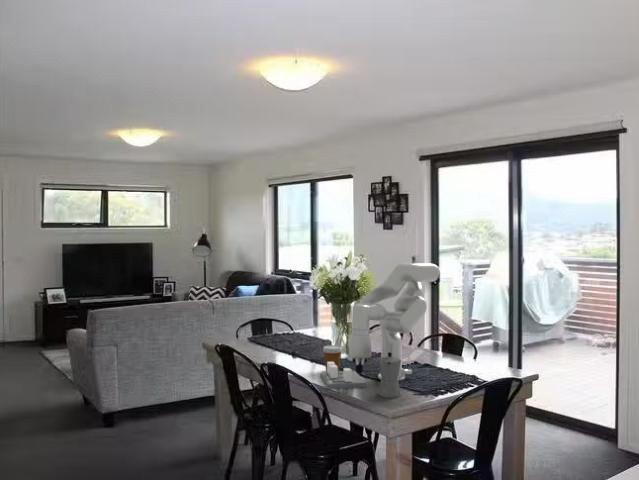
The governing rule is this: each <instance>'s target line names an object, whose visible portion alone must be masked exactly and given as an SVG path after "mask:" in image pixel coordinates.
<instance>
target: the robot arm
mask: <svg viewBox="0 0 639 480" xmlns="http://www.w3.org/2000/svg"><path fill="white" fill-rule="evenodd" d="M439 276H440V269H439V267H438V266H437V265H436V264H434V263H423V262H422V263H421V262H413V263H406V262H402V263H398V264H397V265H396V266H395V267H394V268H393V270H392V271H391V272H390V274H388V276H387V277H386V279H385V280H384V281H383V282H382V283H381V284H380V285H378V286H376V287H374V288H373V289H372V290H370V291H369V292H367V293H366V294H365V295H364V296H363V297H362V299H361V300H360V302H359V303H357V304H354V305H353V306H352V311H351V315H352V316H351V318H352V319H351V334H349V337H348V344H347V360H348V361H349V362H350V361H351V362H353V363H354V364H355V370H354V371H356V372H357V374H359V375H362V373H363V371H364V369H363V368H364V364H365V363H366V362H369V361H371V360H372V341H371V340H372V339H371V336H370V334H372V333H373V330H372V329H370V328H369V327H370V321H374V322H375V321H376V322H377V321H379V328H380V335H381V336H380V337H381V338H380V339H381V340H380V341H381V347H380V348H381V350H380V353H381V354H380V356H381V357H380V358H383V357H388V353H389V352H390V353H392V354H391V355H392V357H395V358H399V359H400V360H401V363H400V370H399V375H398V381H404V380H405V379H406V375H412V374H413V370H412V369H407V368H406V369H404V368H403V367H402V358H403V339H402V336H401V334H404V335H405V334H409V333H412V332H413V330H414V329H415V328H416V327H417V325H418V324H419V322H420V321H421V320H422V319H423V317H424V316H425V315H426V313H427V307H428V305H427V302H426V300H425V299H424V297H422V296H423V295H424V294H423V293H424V289H423V283H432V282H436V281H437V280H438V279H439ZM406 284H407V286H406V287H405V285H406ZM404 287H405V288H404ZM403 288H404V289H403ZM402 290H403V291H402ZM401 291H402V293H401V294H400V295H399V293H400V292H401ZM398 295H399V296H398ZM394 297H397V299H396V300H395V302H394V304H393V307H394V310H392V309H389V310H386V308H385V306H383V304H380V303H379V302H382V301H384V300H388V299H392V298H394ZM378 303H379V304H378ZM359 359H360V360H359ZM377 378H378V379H379V380H381V379H382V375H381V373H379V374H377Z"/></svg>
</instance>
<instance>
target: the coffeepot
mask: <svg viewBox="0 0 639 480" xmlns="http://www.w3.org/2000/svg"><path fill="white" fill-rule="evenodd" d="M391 354H392V353H390V352H389V353H388V357H383V358H381V357H380V358H378V365H379V372H380V373H379V374H381V375H382V379H380V385H379V388H378V395H379V397H382V398H387V399H388V398H389V399H390V398H391V399H394V398H398V397H400V396H401V395H402V393H401V388H400V384H399V383H400V382H399V381H398V375H399V370H400V363H401V360H400V359H399V358H395V357H392V355H391Z"/></svg>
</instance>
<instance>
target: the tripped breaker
mask: <svg viewBox="0 0 639 480" xmlns="http://www.w3.org/2000/svg"><path fill="white" fill-rule="evenodd" d="M342 370H343V380H344V381H345V382H352V371H353V370H352V369H351V368H350V367H347V368H346V367H345V368H343V369H342Z"/></svg>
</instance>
